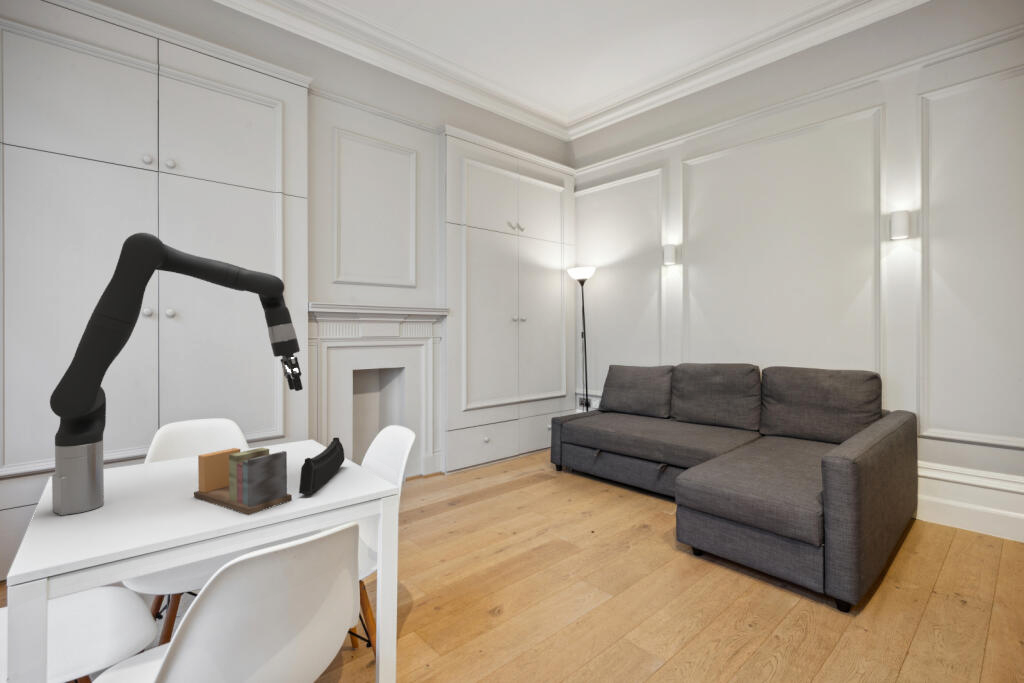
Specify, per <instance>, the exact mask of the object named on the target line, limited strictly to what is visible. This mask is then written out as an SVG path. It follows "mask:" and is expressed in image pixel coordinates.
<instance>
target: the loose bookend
mask: <svg viewBox="0 0 1024 683" xmlns="http://www.w3.org/2000/svg"><path fill="white" fill-rule="evenodd" d="M239 452H241V448H237V447H233V448H227V449H224V450H217V451H214V452H209V453H204V454H199V455H198V457H197V459H198V464H197V465H198V467H197V468H198V472H197V473H198V491H200V492H203V493H205V492H209V491H213V490H216V489H220V488H224V487H227V486H229V455H230V454H234V453H239Z"/></svg>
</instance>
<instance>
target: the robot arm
mask: <svg viewBox="0 0 1024 683" xmlns="http://www.w3.org/2000/svg"><path fill="white" fill-rule="evenodd" d="M120 250H121V251H120V254H119V258H118V261H117V263H116V266H115V270H114V272H113V275H112V277H111V279H110V281H109V282H108V284H107V285H106V287H105V289H104V290H103V292H102V294H101V296H100V298H99V299H98V302H97V304H96V305H95V307H94V309H93V311H92V313H91V315H90V317H89V319H88V322H87V323H86V326H85V329H84V331H83V333H82V335H81V338H80V340H79V343H78V345H77V347H76V351H75V353H74V355H73V358H72V360H71V361H70V365H69V366H68V368H67V369H66V371H65V373H64V374H63V376H62V377H61V379H60V380H59V382H58V384H57V385H56V386H55V388H54V390H53V391H52V392H51V395H50V399H49V406H50V409H51V411H52V412H53V413H54V415H56V416H57V417H59V426H58V428H57V429H58V430H57V432H56V434H55V435H54V466H55V467H54V472H55V473H53V474H52V476H51V484H52V485H51V489H52V490H51V492H52V494H51V496H52V497H51V498H52V499H51V500H52V505H51V507H52V512H53V511H54V512H53V513H55V512H56V513H55V514H57V513H58V514H57V515H59V516H61V515H62V516H66V515H73V514H79V513H83V512H84V513H85V512H88V511H92V510H95V509H98V508H100V507H101V506H103V505H104V503H105V502H104V501H105V494H104V493H105V492H104V491H105V490H104V489H105V486H104V480H105V478H104V431H105V429H106V424H107V423H106V419H107V415H106V414H107V399H106V398H107V397H106V392H105V390H104V388H103V387H102V386H101V385H102V383H103V380H104V377H105V375H106V374H107V371H108V370H109V368H110V366H111V364H113V361H115V359H116V358H117V357H118V356H119V354H120V353H121V352H122V350H124V348H125V346H126V344H127V343H128V341H129V339H130V338H131V337H132V334H133V332H134V330H135V327H136V324H137V322H138V320H139V317H140V314H141V310H142V306H143V301H144V297H145V292H146V290H147V286H148V283H149V282H150V280H151V278H152V276H153V275H154V273H155V271H163V272H170V273H176V274H180V275H184V276H188V277H190V278H191V277H192V278H195V279H198V280H200V281H204V282H208V283H211V284H214V285H217V286H221V287H223V288H226V289H227V288H228V289H231V290H235V291H240V292H248V293H253V294H256V295H258V299H259V301H260V304H261V307H262V309H263V312H264V318H265V322H266V325H267V332H268V338H269V342H270V345H271V349H272V354H273V356H274V357H275V358H276V357H277V358H278V357H282V358H281V359H280V363H281V367H282V370H283V371H282V372H283V376H284V377H285V379H286V380H287V384H288V388H289V390H291V391H292V390H293V391H295V392H299V391H302V390H303V383H302V379H301V377H302V372H301V368H300V364H299V359H298V356H295V355H294V354H297V353H299V352H300V351H301V350H300V345H299V341H298V336H297V334H296V330H295V327H294V325H293V321H292V320H293V319H292V318H291V316H292V315H291V313H290V310H289V308H288V307H287V305H286V301H285V298H284V292H285V284H284V282H283V280H282V279H281V278H279V277H278V276H276V275H273V274H270V273H267V272H261V271H256V270H251V269H247V268H244V267H241V266H239V265H234V264H232V263H228V262H225V261H221V260H216V259H212V258H206V257H203V256H197V255H194V254H190V253H187V252H184V251H181V250H178V249H177V248H174V247H171V246H170V245H167V244H165V243H163V241H162V240H161V239H160V238H158V236H155V235H154V234H151V233H149V232H136V233H133V234H132V235H130V236H128V237H127V238H126V239H125V240H124V242H123V244H122V247H121V249H120Z"/></svg>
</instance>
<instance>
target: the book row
mask: <svg viewBox="0 0 1024 683" xmlns="http://www.w3.org/2000/svg"><path fill="white" fill-rule="evenodd" d="M287 454H288V453H287V451H285V450H284V451H278V452H274V453H270V449H269V448H266V447H265V448H264V447H258V448H253V449H249V450H246V451H245V450H243V451H240V452H239V453H234V454H230V455H229V486H227V487H224V488H220V489H216V490H213V491H209V492H205V493H203V492H200V491H199V490H196V491H194V492H193V498H195V499H197V498H198V499H197V500H200V501H203V500H204V502H206V501H207V503H209V502H210V504H212V503H214V504H213V505H216V504H217V505H216V506H219V505H220V506H219V507H222V506H224V507H223V508H225V507H227V508H226V509H228V508H230V509H229V510H231V509H233V510H232V511H234V510H236V511H235V512H237V511H239V512H238V513H240V512H242V513H241V514H243V513H245V514H244V515H246V514H248V515H247V516H249V514H250V515H252V513H253V514H256V513H259V512H261V511H260V510H262V511H264V510H263V509H265V510H267V509H266V508H268V509H270V508H269V507H271V508H273V507H272V506H274V505H277V504H280V503H282V504H285V503H288V502H290V501H292V499H293V498H292V496H293V495H292V494H290V493H288V474H287V473H288V470H287V468H288V465H287V464H288V463H287V461H288V458H287V457H288V455H287ZM287 501H288V502H287ZM284 502H285V503H284ZM280 505H281V504H280ZM277 506H278V505H277ZM274 507H275V506H274ZM258 511H259V512H258ZM255 512H256V513H255Z"/></svg>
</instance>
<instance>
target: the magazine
mask: <svg viewBox="0 0 1024 683" xmlns="http://www.w3.org/2000/svg"><path fill="white" fill-rule="evenodd" d="M345 460H346V458H345V450H344V446H343V444H342V442H341V440H340V437H333V438H332V441H330V444H329V445H328V446H327V447H326V448H325V449H324V450H323V451H321V452H320V453H319V454H317V455H315V456H314V457H312V458H311V457H307V458H305V459H304V463H303V464H302V466H301V470H300V480H299V489H298V493H299V495H300V494H301V495H308V494H312V493H313V492H315V491H317V490H319V489H321V488H322V487H324V486H325V485H326V484H328V483H329V482H330V481H331V480H330V479H331V478H332V479H333V478H334V477H335V475H336V474H337V473H338V471H339V470H340V468H341V467H342V465H343V464H344V461H345ZM329 480H330V481H329ZM324 484H325V485H324ZM323 485H324V486H323Z"/></svg>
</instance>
